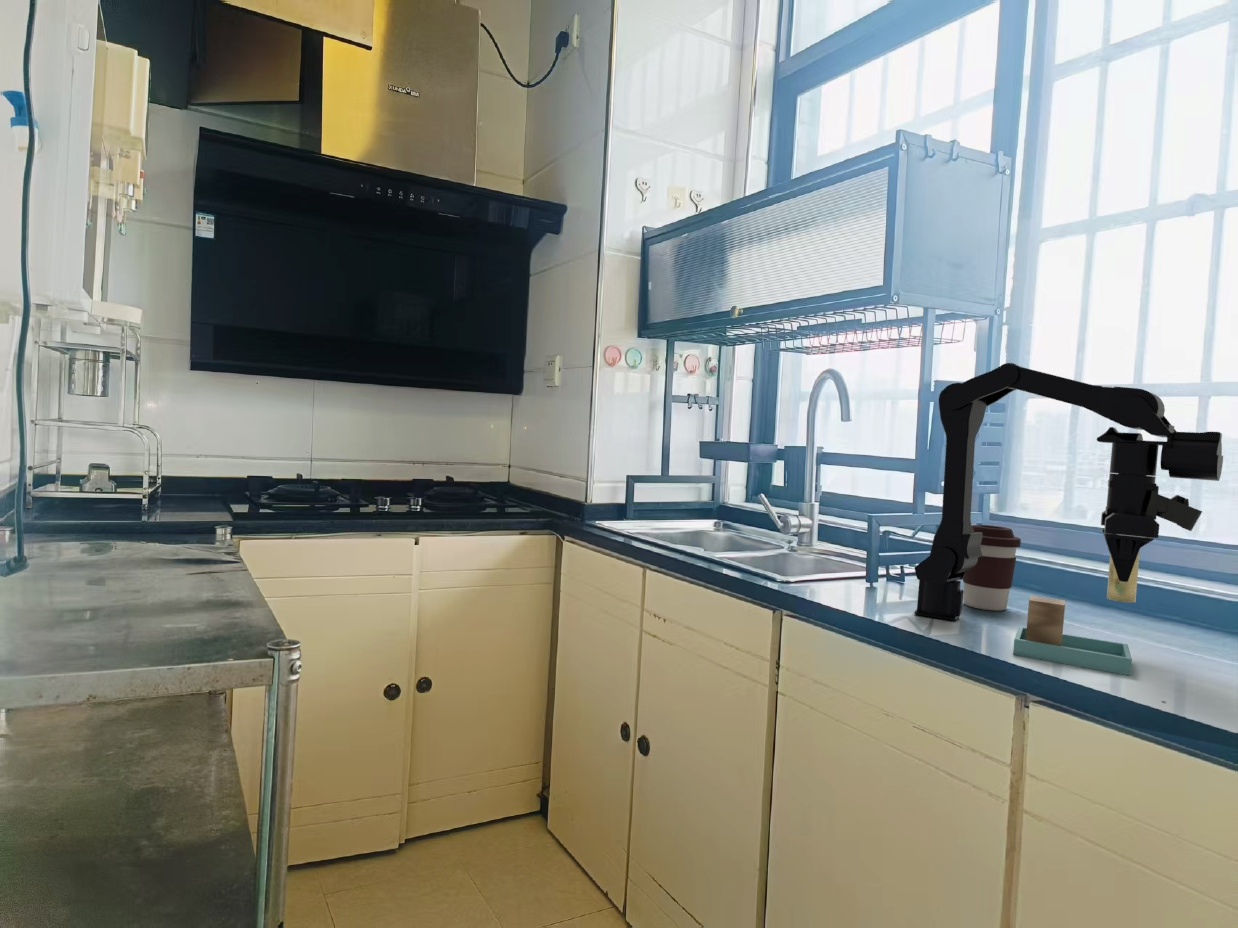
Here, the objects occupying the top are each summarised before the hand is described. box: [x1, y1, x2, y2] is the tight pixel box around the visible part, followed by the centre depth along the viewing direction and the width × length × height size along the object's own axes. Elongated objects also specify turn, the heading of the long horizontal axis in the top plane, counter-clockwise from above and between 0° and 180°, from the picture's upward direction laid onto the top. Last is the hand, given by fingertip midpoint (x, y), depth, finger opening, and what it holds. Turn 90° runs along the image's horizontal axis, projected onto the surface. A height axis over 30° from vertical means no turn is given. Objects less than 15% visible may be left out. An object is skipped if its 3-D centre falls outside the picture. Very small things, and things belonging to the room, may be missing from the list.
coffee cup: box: [962, 524, 1022, 612], centre depth 145 cm, size 10×10×15 cm
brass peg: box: [1106, 550, 1140, 603], centre depth 116 cm, size 4×4×8 cm
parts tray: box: [1012, 626, 1133, 676], centre depth 111 cm, size 14×10×2 cm
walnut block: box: [1026, 595, 1066, 646], centre depth 113 cm, size 4×4×7 cm
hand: (1122, 579), depth 116 cm, fingers closed on brass peg, 4 cm apart
